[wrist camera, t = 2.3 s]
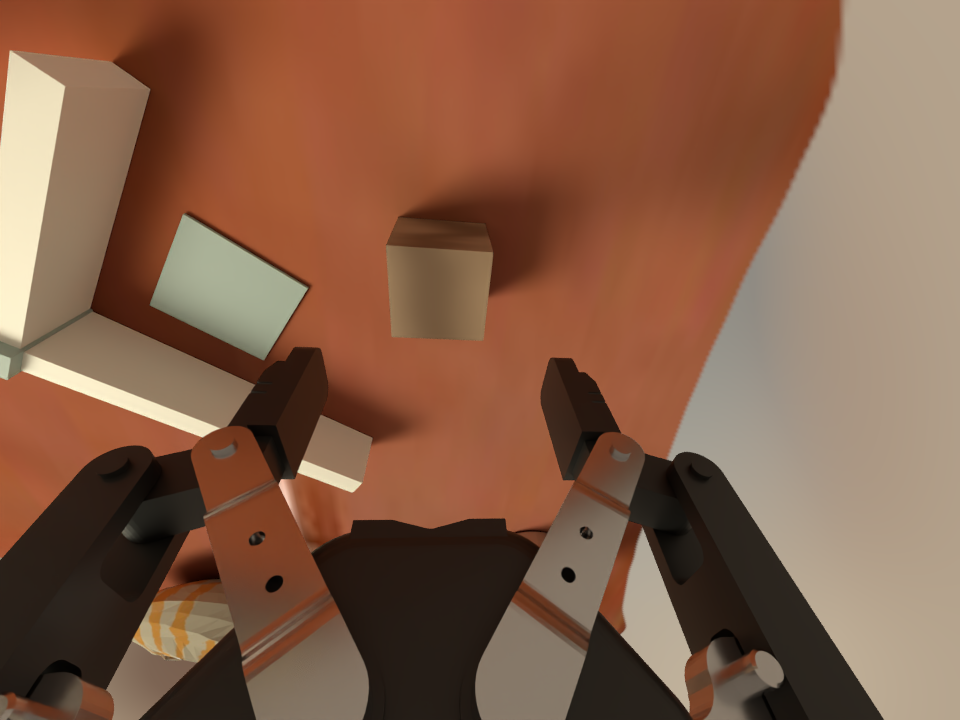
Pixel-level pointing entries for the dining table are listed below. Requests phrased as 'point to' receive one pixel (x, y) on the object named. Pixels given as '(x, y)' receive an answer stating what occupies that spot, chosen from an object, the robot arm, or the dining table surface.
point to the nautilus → (185, 621)
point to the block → (438, 278)
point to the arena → (80, 253)
